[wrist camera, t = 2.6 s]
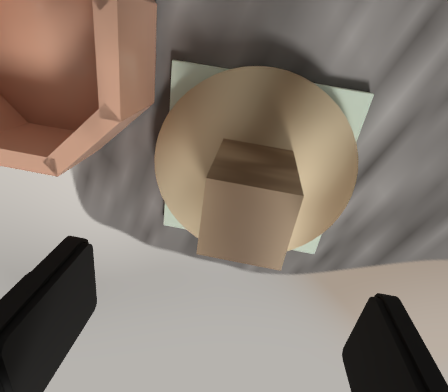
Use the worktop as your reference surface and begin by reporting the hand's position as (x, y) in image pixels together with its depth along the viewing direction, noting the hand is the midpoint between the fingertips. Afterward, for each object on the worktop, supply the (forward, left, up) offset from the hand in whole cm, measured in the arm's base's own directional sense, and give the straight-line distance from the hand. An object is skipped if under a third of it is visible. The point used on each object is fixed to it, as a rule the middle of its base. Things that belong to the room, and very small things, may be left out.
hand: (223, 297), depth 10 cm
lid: (0, -1, -10) cm, 10 cm away
